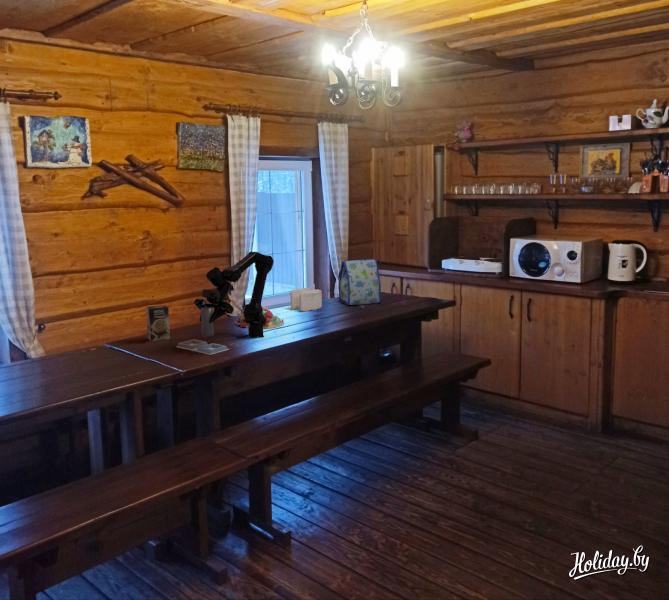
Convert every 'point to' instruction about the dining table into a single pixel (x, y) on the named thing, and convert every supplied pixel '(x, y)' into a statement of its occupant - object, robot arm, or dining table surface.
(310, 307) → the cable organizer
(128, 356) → the dining table surface
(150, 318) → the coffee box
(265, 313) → the candy landscape model
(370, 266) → the lunch bag
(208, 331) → the grey cylinder
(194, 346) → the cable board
